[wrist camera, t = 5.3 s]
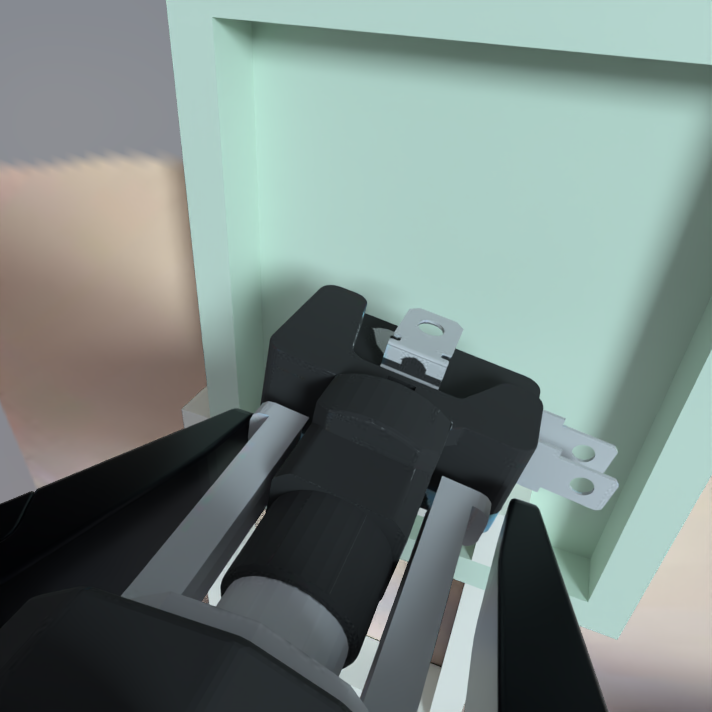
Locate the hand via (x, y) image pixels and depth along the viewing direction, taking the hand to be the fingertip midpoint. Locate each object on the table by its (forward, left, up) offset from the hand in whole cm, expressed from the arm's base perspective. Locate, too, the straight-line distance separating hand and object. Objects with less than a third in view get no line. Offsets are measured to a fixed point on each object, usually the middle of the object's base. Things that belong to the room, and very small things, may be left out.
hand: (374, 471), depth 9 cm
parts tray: (0, 0, -6) cm, 6 cm away
